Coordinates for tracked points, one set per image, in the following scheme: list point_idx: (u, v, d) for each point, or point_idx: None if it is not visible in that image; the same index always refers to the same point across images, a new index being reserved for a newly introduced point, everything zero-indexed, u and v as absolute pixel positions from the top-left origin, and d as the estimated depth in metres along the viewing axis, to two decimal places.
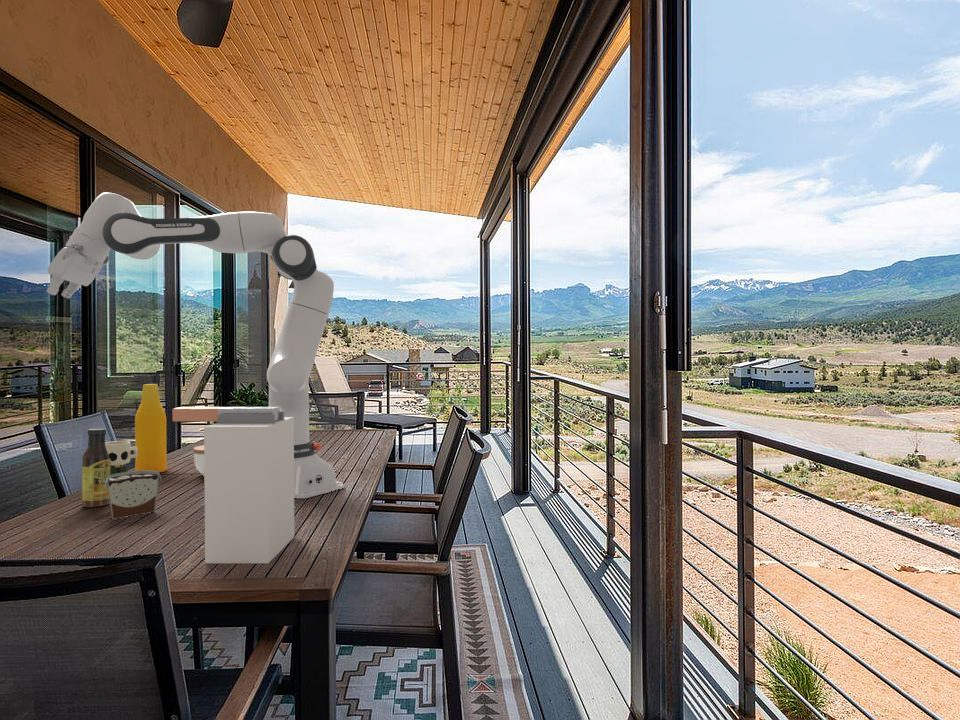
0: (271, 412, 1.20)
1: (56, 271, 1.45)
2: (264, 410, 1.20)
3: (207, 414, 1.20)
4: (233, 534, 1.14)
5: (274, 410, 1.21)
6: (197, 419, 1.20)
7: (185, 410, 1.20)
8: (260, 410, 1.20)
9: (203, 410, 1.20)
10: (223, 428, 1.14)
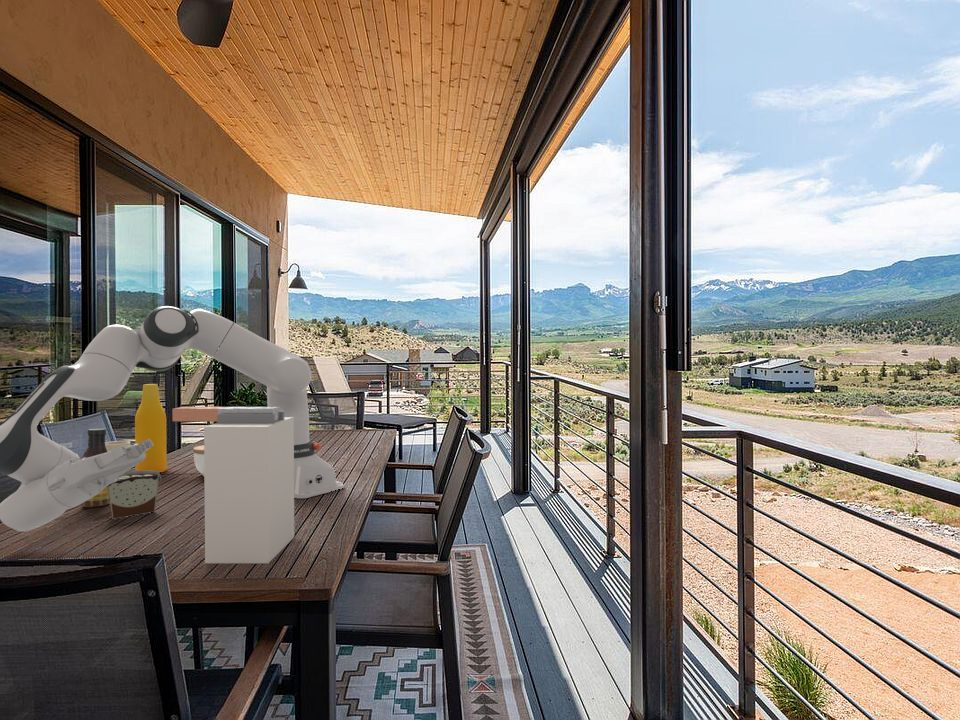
0: (271, 412, 1.20)
1: (78, 469, 1.12)
2: (264, 410, 1.20)
3: (207, 414, 1.20)
4: (233, 534, 1.14)
5: (274, 410, 1.21)
6: (197, 419, 1.20)
7: (185, 410, 1.20)
8: (260, 410, 1.20)
9: (203, 410, 1.20)
10: (223, 428, 1.14)
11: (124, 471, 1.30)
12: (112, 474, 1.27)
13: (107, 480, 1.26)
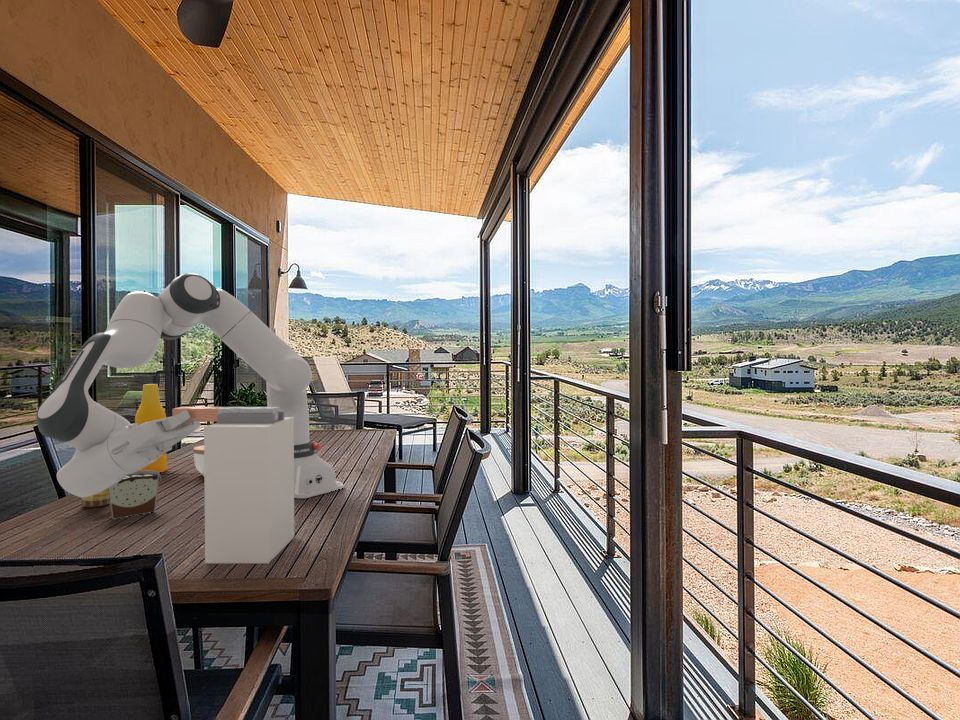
0: (271, 412, 1.20)
1: (142, 431, 1.12)
2: (264, 410, 1.20)
3: (207, 414, 1.20)
4: (233, 534, 1.14)
5: (274, 410, 1.21)
6: (197, 419, 1.20)
7: (185, 410, 1.20)
8: (260, 410, 1.20)
9: (203, 410, 1.20)
10: (223, 428, 1.14)
11: (179, 439, 1.30)
12: (168, 441, 1.27)
13: (164, 447, 1.26)
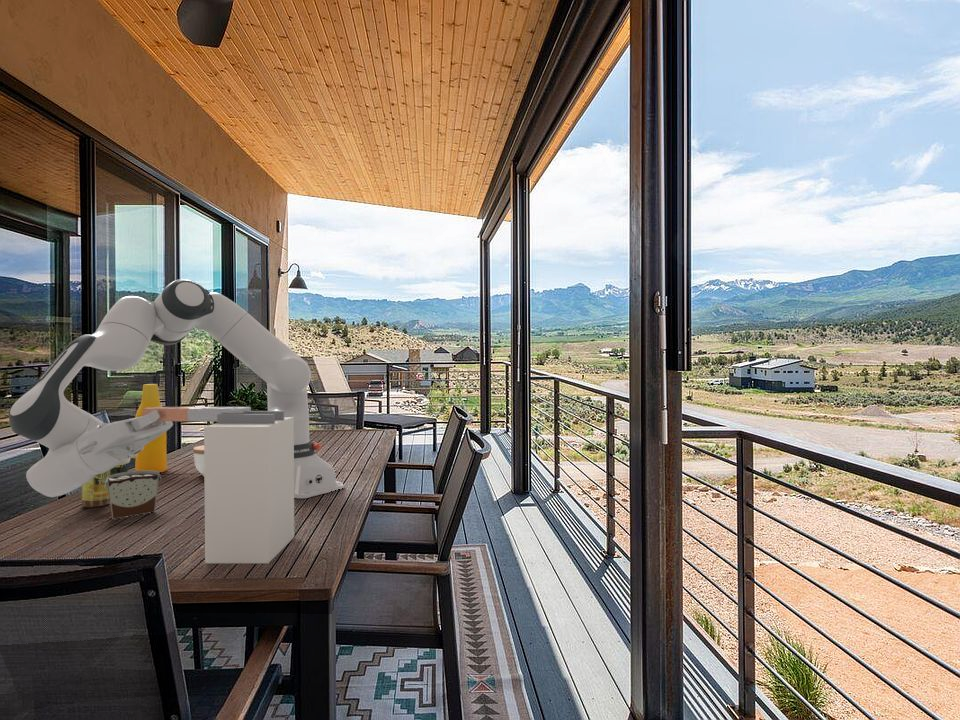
0: (241, 412, 1.20)
1: (110, 431, 1.12)
2: (234, 410, 1.20)
3: (177, 414, 1.20)
4: (233, 534, 1.14)
5: (244, 410, 1.21)
6: (167, 419, 1.20)
7: None
8: (230, 410, 1.20)
9: (173, 410, 1.20)
10: (223, 428, 1.14)
11: (151, 439, 1.30)
12: (140, 441, 1.27)
13: (135, 447, 1.26)
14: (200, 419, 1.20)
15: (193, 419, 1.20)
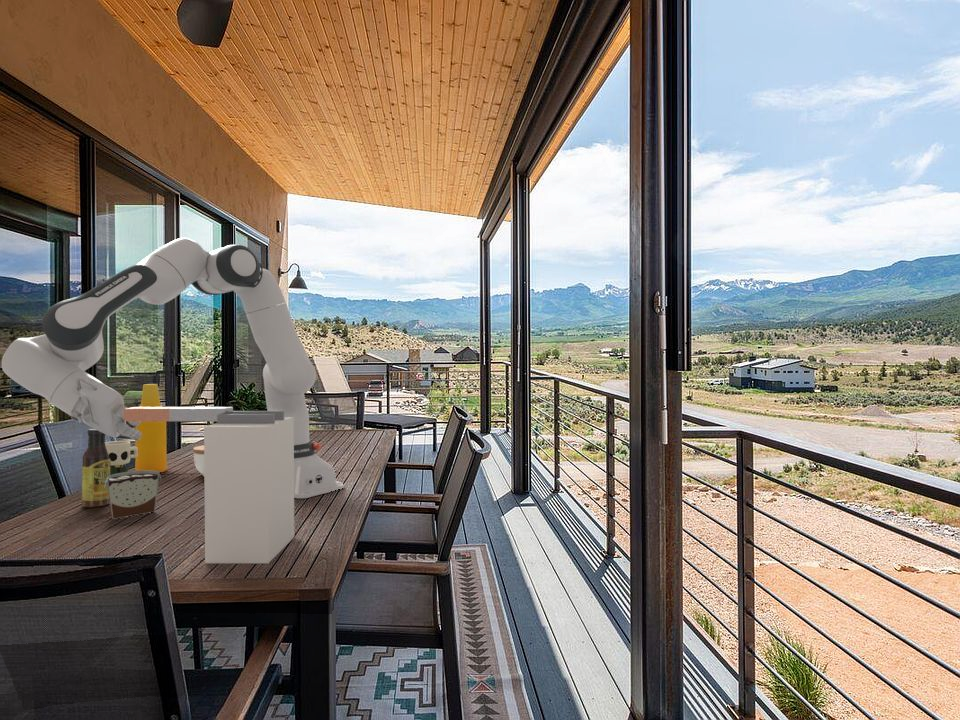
0: (223, 412, 1.20)
1: (113, 397, 1.20)
2: (216, 410, 1.20)
3: (159, 414, 1.20)
4: (233, 534, 1.14)
5: (226, 410, 1.21)
6: (149, 419, 1.20)
7: (137, 410, 1.20)
8: (212, 410, 1.20)
9: (155, 410, 1.20)
10: (223, 428, 1.14)
11: (92, 425, 1.33)
12: (90, 418, 1.30)
13: (84, 417, 1.29)
14: (182, 419, 1.20)
15: (175, 419, 1.20)
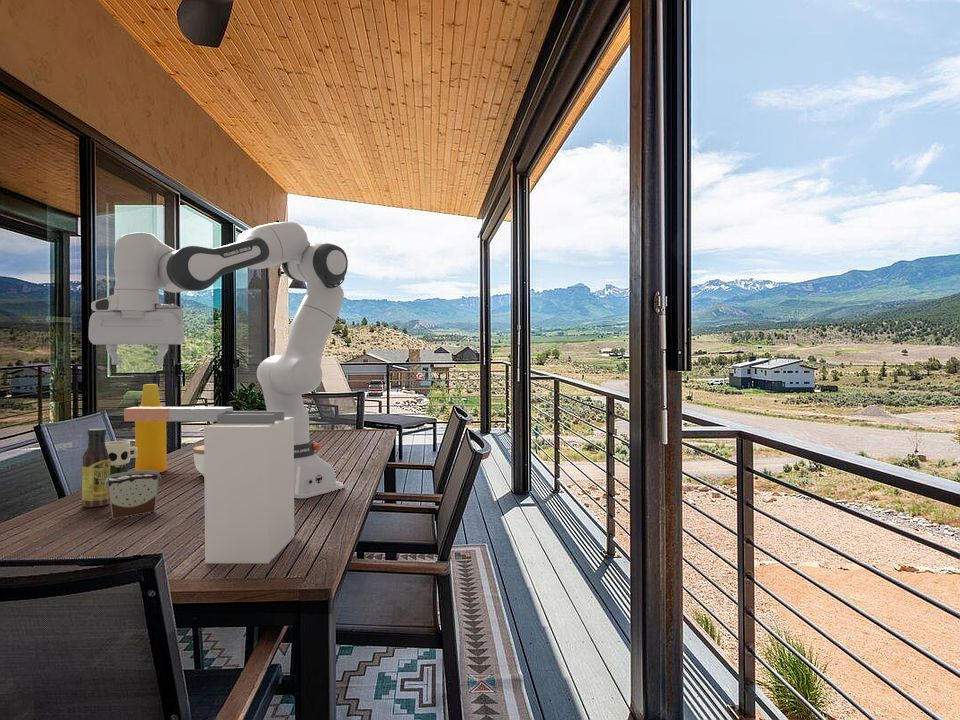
0: (223, 412, 1.20)
1: (182, 338, 1.38)
2: (216, 410, 1.20)
3: (159, 414, 1.20)
4: (233, 534, 1.14)
5: (226, 410, 1.21)
6: (149, 419, 1.20)
7: (137, 410, 1.20)
8: (212, 410, 1.20)
9: (155, 410, 1.20)
10: (223, 428, 1.14)
11: (95, 321, 1.35)
12: (111, 319, 1.35)
13: (114, 315, 1.35)
14: (182, 419, 1.20)
15: (175, 419, 1.20)
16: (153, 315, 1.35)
